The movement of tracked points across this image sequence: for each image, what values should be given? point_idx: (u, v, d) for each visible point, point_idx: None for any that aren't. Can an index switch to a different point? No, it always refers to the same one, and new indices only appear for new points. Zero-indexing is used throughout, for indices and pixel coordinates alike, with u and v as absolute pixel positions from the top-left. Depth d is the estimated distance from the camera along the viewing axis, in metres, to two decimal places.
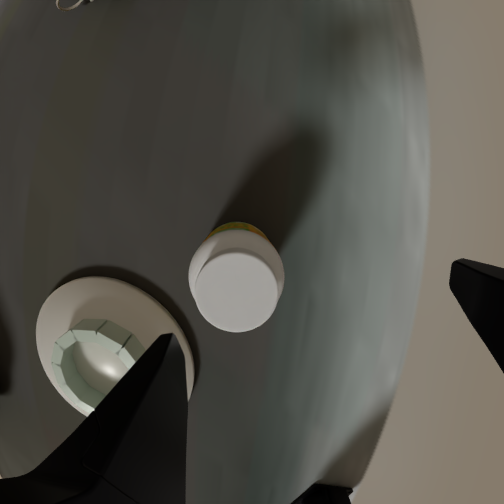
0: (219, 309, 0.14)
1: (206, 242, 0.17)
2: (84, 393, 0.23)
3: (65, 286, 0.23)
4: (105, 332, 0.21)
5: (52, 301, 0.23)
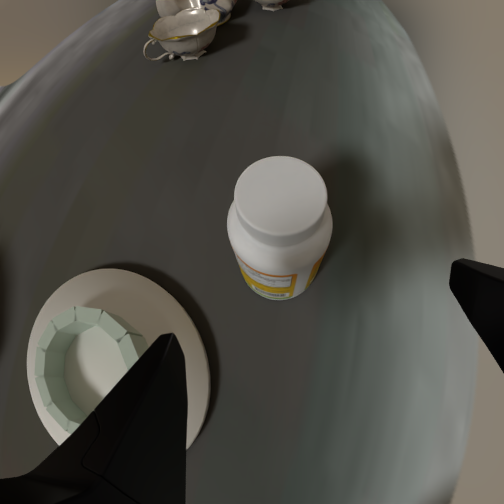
0: (260, 206, 0.13)
1: None
2: (61, 401, 0.17)
3: (85, 274, 0.22)
4: (112, 316, 0.18)
5: (65, 290, 0.21)
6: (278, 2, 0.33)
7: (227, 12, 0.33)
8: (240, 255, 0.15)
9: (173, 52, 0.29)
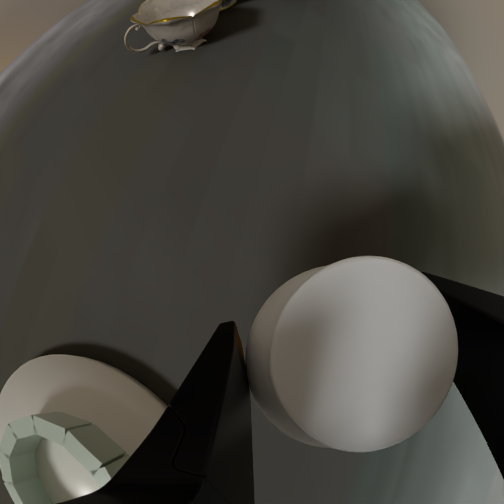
0: (331, 393, 0.05)
1: (291, 279, 0.09)
2: None
3: (45, 358, 0.14)
4: (81, 436, 0.11)
5: (24, 374, 0.14)
6: None
7: None
8: (271, 422, 0.07)
9: (162, 40, 0.21)
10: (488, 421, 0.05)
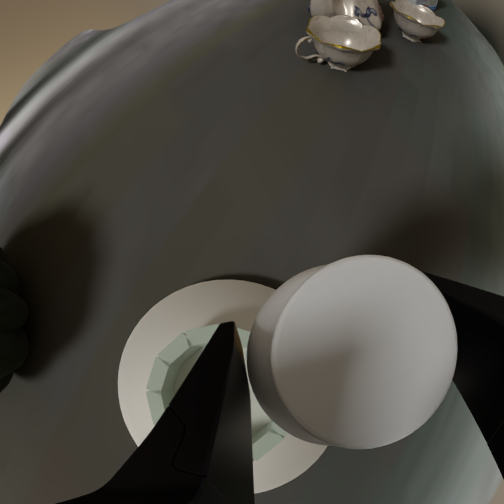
0: (332, 390, 0.05)
1: (292, 278, 0.09)
2: None
3: (221, 282, 0.22)
4: None
5: (191, 293, 0.22)
6: (422, 36, 0.30)
7: None
8: (272, 420, 0.07)
9: (327, 58, 0.28)
10: (488, 421, 0.05)
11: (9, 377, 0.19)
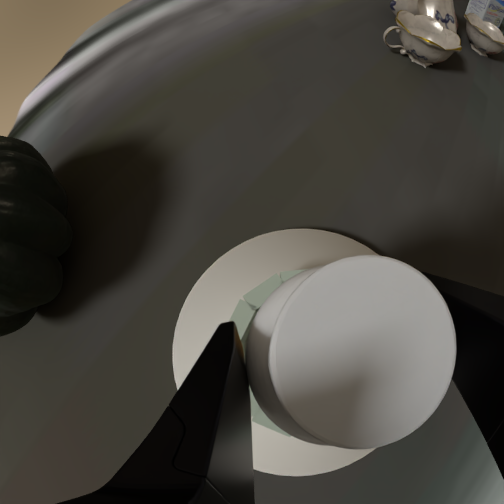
0: (330, 390, 0.05)
1: (290, 278, 0.09)
2: None
3: (313, 231, 0.20)
4: None
5: (279, 239, 0.20)
6: (490, 51, 0.27)
7: None
8: (271, 420, 0.07)
9: (412, 50, 0.25)
10: (488, 421, 0.05)
11: (31, 314, 0.18)
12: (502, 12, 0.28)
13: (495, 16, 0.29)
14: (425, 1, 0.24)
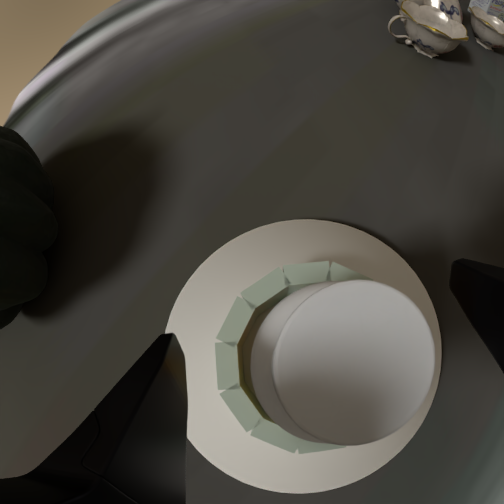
0: (323, 395, 0.06)
1: (291, 294, 0.10)
2: (242, 384, 0.14)
3: (319, 222, 0.18)
4: None
5: (282, 231, 0.18)
6: (495, 44, 0.25)
7: None
8: None
9: (418, 40, 0.23)
10: None
11: (14, 313, 0.16)
12: None
13: (499, 11, 0.28)
14: None
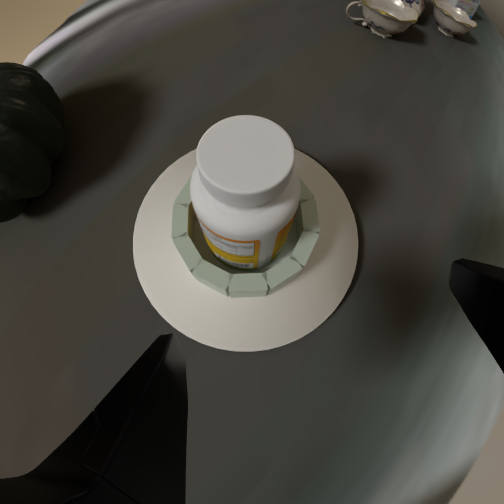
0: (222, 163, 0.12)
1: None
2: None
3: None
4: None
5: None
6: (454, 31, 0.31)
7: None
8: (200, 217, 0.14)
9: (371, 22, 0.29)
10: None
11: (19, 209, 0.21)
12: (476, 2, 0.33)
13: (469, 5, 0.34)
14: None
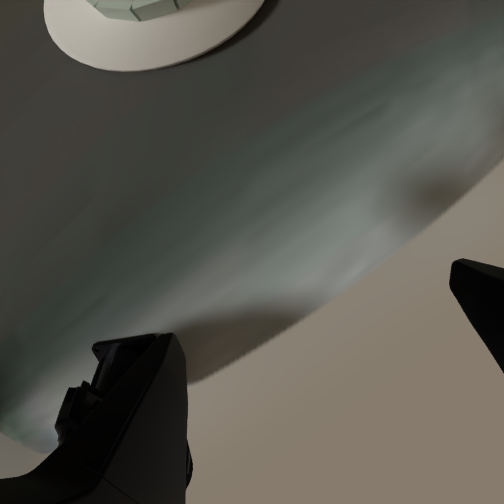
0: None
1: None
2: None
3: None
4: None
5: None
6: None
7: None
8: None
9: None
10: None
11: None
12: None
13: None
14: None
